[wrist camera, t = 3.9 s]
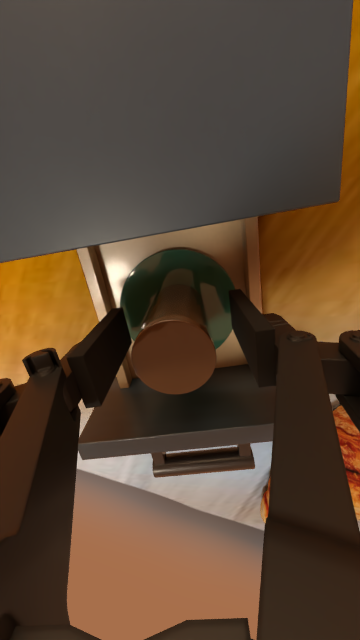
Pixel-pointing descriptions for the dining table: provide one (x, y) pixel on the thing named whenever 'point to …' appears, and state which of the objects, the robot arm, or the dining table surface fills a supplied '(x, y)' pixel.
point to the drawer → (193, 407)
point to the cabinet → (165, 115)
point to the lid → (176, 318)
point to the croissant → (356, 456)
